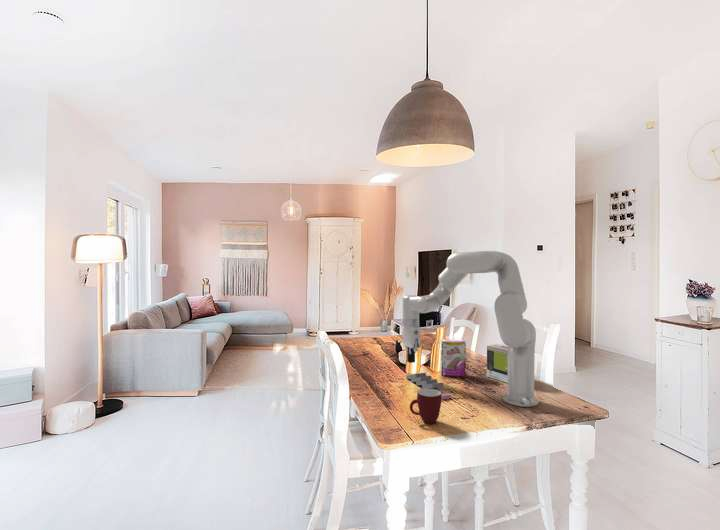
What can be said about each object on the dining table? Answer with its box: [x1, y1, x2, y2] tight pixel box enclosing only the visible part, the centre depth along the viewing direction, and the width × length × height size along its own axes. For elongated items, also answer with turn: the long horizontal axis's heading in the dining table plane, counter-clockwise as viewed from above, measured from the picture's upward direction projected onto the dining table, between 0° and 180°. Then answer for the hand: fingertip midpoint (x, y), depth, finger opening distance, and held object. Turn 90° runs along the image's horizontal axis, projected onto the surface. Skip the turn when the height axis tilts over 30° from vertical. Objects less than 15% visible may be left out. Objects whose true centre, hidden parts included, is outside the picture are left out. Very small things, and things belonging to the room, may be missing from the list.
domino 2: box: [410, 375, 433, 383], centre depth 172 cm, size 2×5×10 cm
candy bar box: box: [440, 339, 467, 377], centre depth 186 cm, size 11×5×16 cm, turn 84°
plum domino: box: [428, 387, 452, 401], centre depth 159 cm, size 2×5×10 cm
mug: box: [409, 388, 443, 425], centre depth 133 cm, size 10×8×10 cm
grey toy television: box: [486, 343, 508, 384], centre depth 179 cm, size 15×10×15 cm, turn 28°
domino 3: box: [415, 378, 438, 386], centre depth 168 cm, size 2×5×10 cm
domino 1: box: [405, 372, 427, 380], centre depth 177 cm, size 2×5×10 cm
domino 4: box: [421, 382, 445, 389], centre depth 163 cm, size 2×5×10 cm
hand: (411, 362), depth 181 cm, fingers closed
